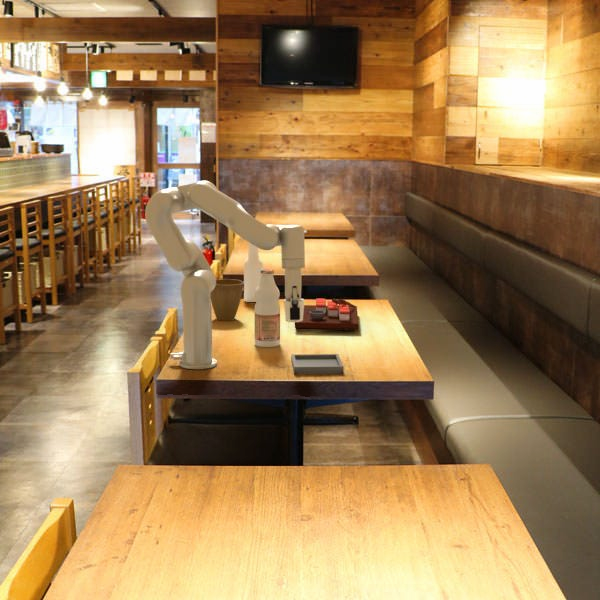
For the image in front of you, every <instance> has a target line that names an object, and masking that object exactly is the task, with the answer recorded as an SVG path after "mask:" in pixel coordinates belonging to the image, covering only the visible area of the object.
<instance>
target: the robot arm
mask: <svg viewBox="0 0 600 600" xmlns="http://www.w3.org/2000/svg"><path fill="white" fill-rule="evenodd" d="M195 209H198V210H199V211H201V212H202V213H205V214H206V215H207V216H210V217H211V218H213V219H214V220H216V221H217V222H220V223H221V224H223V225H224V226H226V227H227V229H229V230H231V231H232V232H233V233H235V234H236V235H237V236H238V237H240V238H242V239H243V240H244V241H246V242H248V243H249V242H250V243H251V244H253V245H255V246H256V247H258V249H259V250H262V251H270V250H273V249H274V248H276V247H281V252H280V253H281V269H283V270H284V296H285V299H288V298H290V304H291V308H290V320H300V307H299V299H300V298H302V269H305V268H306V254H305V250H306V249H305V228H304V227H303V226H302V225H299V224H287V225H285V224H284V225H282V224H272V223H271V224H270V223H267V224H264V223H263V222H261V221H259V220H258V219H257V218H255V217H253V216H252V215H251V214H250V213H248V212H247V211H246V210H245V208H244V207H243V205H241V203H240V202H238V201H237V200H235V199H233V198H232V197H230V196H228V195H227V194H225V193H224V192H222V191H220V190H218V188H217V186H216V185H215V184H214V183H212V182H211V181H208V180H199V181H196V182H192V183H187V184H182V185H178V186H173V187H168V188H163V189H160V190H158V191H156V192H155V193H154V194H152V195H151V197H150V198H149V200H148V201H147V204H146V206H145V213H144V215H145V221H146V225H147V227H148V229H149V231H150V233H151V235H152V236H153V238H154V240H155V241H156V244H157V245H158V247H159V249H160V250H161V252H162V255H163V256H164V258H165V259H166V262H167V263H168V265H169V266H170V268H171V269H172V270H174V271H176V272H181V273H182V275H183V276H184V277H183V280H182V281H181V285H180V299H181V305H182V307H181V308H182V329H183V331H182V333H183V334H182V337H183V338H182V339H183V344H182V345H183V350H182V351H180V352H177V353H176V352H170V353H169V356H170V357H169V358H170V359H172V360H173V361H174V360H175V361H177V360H180V361H178V365H179V367H181V368H183V369H187V370H188V369H189V370H206V369H211V368H214V367H215V366H217V365H218V360H217V359H215V358H213V320H212V319H213V318H212V317H213V316H212V315H213V314H212V303H211V298H210V293H211V292H212V291H213V290H214V288H215V286H216V275H215V273H214V271H213V269H212V268H211V266H210V264H209V262H208V259H206V257H205V255H204V253H203V252H202V249H200V247H199V246H198V245H197V244H196V243H195V242H194V241H192V240H189V239H185V237H184V235H183V234H182V232H181V230H180V228H179V226H178V225H177V224H176V222H175V221H174V219H173V214H176V213H180V212H185V211H190V210H195Z"/></svg>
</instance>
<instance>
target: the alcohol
mask: <svg viewBox="0 0 600 600" xmlns="http://www.w3.org/2000/svg"><path fill="white" fill-rule="evenodd" d="M247 255H248V256H247V258H246V259H244V263H243V282H244V284H243V300H244V302H245V301H246V302H245V303H247V302H256V298H255V290H256V289H257V287H258V285H259V283H260V280H261V270H262V269H264V263H263V261H262V259H261V258H260V255H259V248H258V247H256V246H255V245H253V244H251V243H250V242H248V254H247Z"/></svg>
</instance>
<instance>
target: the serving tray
mask: <svg viewBox="0 0 600 600" xmlns="http://www.w3.org/2000/svg"><path fill="white" fill-rule="evenodd" d="M290 357H291V366H292V371H293V375H294V376H295V375H298V376H299V375H300V376H301V375H344V369H345V367H344V364H343V362H342V361H341V360H342V359H341V357H340V355H339V354H338V353H313V354H312V353H310V354H309V353H307V354H306V353H305V354H304V353H303V354H300V353H299V354H296V353H295V354H293V353H292V354H291V356H290Z"/></svg>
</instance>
